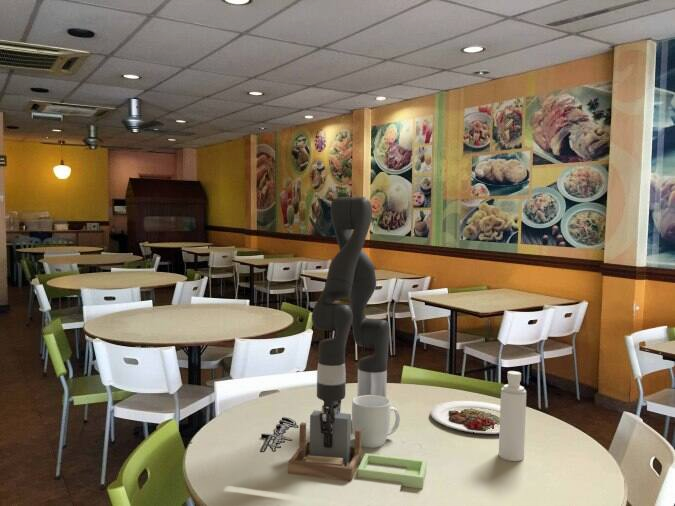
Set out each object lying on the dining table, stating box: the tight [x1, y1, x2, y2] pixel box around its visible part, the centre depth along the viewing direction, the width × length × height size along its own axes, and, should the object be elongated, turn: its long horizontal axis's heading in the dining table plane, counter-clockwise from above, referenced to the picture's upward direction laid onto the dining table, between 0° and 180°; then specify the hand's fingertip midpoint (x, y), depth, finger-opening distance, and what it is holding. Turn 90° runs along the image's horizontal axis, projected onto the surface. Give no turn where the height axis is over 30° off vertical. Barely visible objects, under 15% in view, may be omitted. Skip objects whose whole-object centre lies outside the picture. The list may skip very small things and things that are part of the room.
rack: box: [288, 422, 364, 482], centre depth 144 cm, size 14×16×10 cm
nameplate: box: [259, 416, 300, 453], centre depth 165 cm, size 28×2×10 cm
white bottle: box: [498, 370, 527, 462], centre depth 153 cm, size 7×7×25 cm
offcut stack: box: [305, 455, 344, 466], centre depth 140 cm, size 4×10×3 cm, turn 76°
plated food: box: [430, 400, 500, 435], centre depth 182 cm, size 30×30×3 cm
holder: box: [357, 452, 427, 490], centre depth 141 cm, size 10×16×3 cm, turn 76°
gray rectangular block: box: [309, 409, 352, 465], centre depth 146 cm, size 4×10×12 cm, turn 76°
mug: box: [351, 395, 401, 449], centre depth 160 cm, size 15×11×13 cm
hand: (330, 443), depth 147 cm, fingers closed on gray rectangular block, 4 cm apart
